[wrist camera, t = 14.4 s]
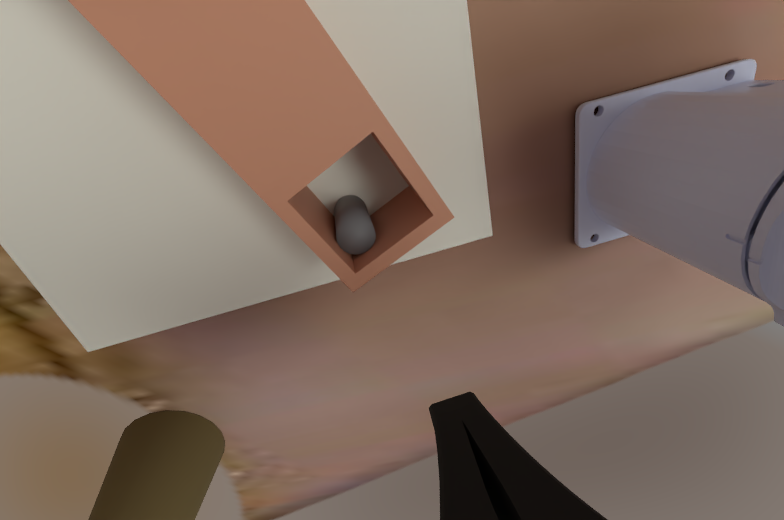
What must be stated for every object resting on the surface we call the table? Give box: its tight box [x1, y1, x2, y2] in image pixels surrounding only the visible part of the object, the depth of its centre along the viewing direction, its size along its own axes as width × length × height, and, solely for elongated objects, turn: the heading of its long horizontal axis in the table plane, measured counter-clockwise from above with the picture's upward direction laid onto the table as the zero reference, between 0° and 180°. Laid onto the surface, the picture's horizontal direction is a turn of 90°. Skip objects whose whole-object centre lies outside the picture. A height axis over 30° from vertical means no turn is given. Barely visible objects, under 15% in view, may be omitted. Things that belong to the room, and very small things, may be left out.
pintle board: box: [0, 0, 493, 352], centre depth 12 cm, size 22×21×6 cm
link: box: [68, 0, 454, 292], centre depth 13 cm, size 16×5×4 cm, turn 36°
